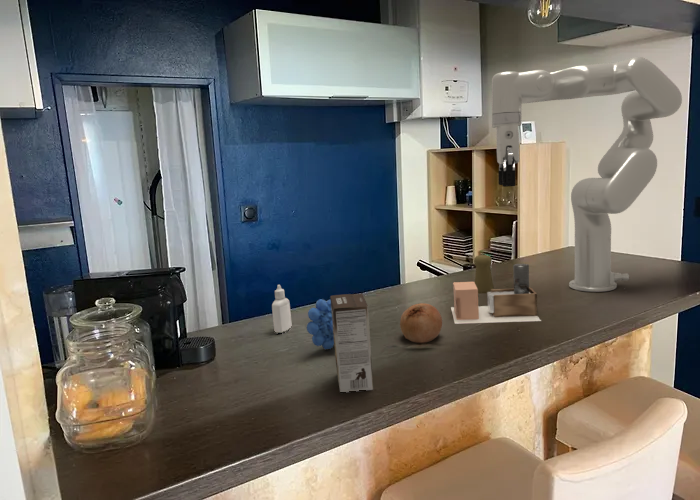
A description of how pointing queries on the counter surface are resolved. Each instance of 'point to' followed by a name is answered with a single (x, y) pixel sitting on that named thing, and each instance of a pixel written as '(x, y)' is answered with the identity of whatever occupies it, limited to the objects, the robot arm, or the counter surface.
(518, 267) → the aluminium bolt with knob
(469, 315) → the terracotta socket
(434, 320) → the onion
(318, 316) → the grapes
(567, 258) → the counter surface
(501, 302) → the walnut sleeve
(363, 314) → the coffee box
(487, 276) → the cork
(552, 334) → the counter surface
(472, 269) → the counter surface
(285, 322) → the eye dropper bottle
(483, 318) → the grey base board
